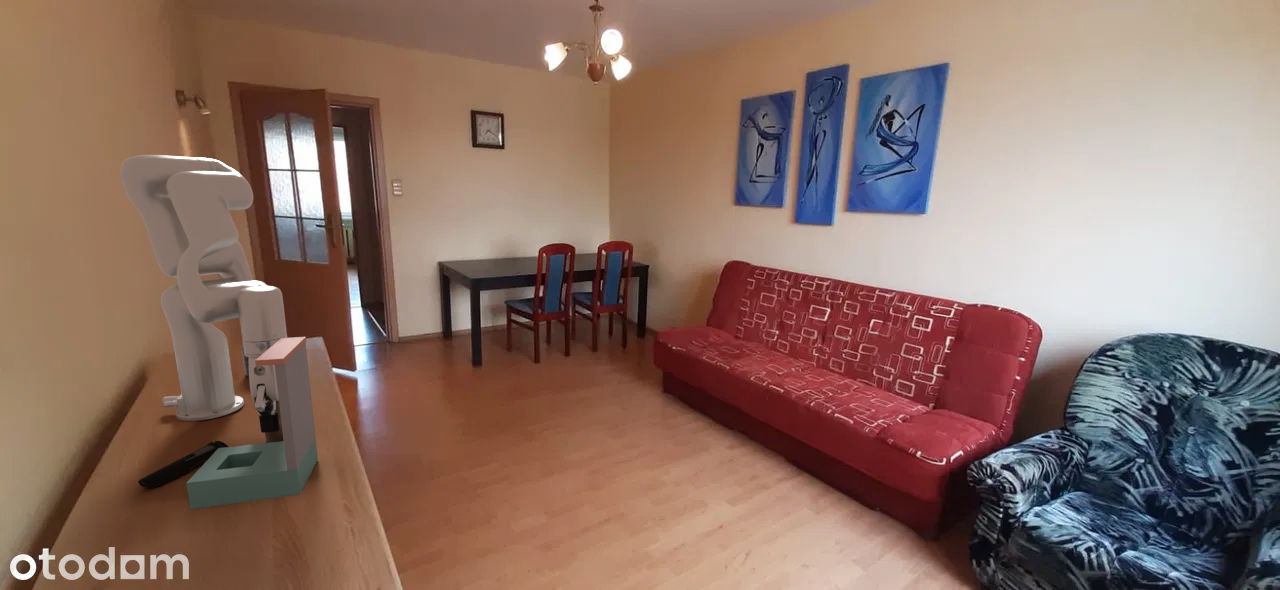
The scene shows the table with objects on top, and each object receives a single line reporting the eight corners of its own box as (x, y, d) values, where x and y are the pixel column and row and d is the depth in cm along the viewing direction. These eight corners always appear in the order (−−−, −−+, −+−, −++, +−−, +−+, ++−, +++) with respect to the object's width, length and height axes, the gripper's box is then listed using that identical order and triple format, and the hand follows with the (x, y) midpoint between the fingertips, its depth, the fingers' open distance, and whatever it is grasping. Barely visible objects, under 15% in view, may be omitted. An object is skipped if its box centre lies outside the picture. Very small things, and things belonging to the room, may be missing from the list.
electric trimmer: (133, 493, 90) (130, 478, 89) (217, 449, 104) (214, 435, 104) (151, 496, 89) (148, 480, 88) (232, 451, 104) (230, 437, 103)
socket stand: (189, 511, 85) (164, 365, 79) (223, 470, 97) (204, 342, 91) (299, 495, 90) (283, 358, 84) (318, 459, 102) (305, 336, 96)
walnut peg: (263, 444, 107) (257, 400, 104) (269, 435, 110) (264, 393, 108) (285, 442, 108) (280, 399, 106) (291, 433, 112) (286, 391, 109)
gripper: (272, 357, 98) (282, 441, 102) (299, 332, 114) (307, 406, 117) (226, 359, 96) (238, 446, 99) (260, 334, 111) (269, 410, 115)
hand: (275, 424), depth 108 cm, fingers open, 5 cm apart
